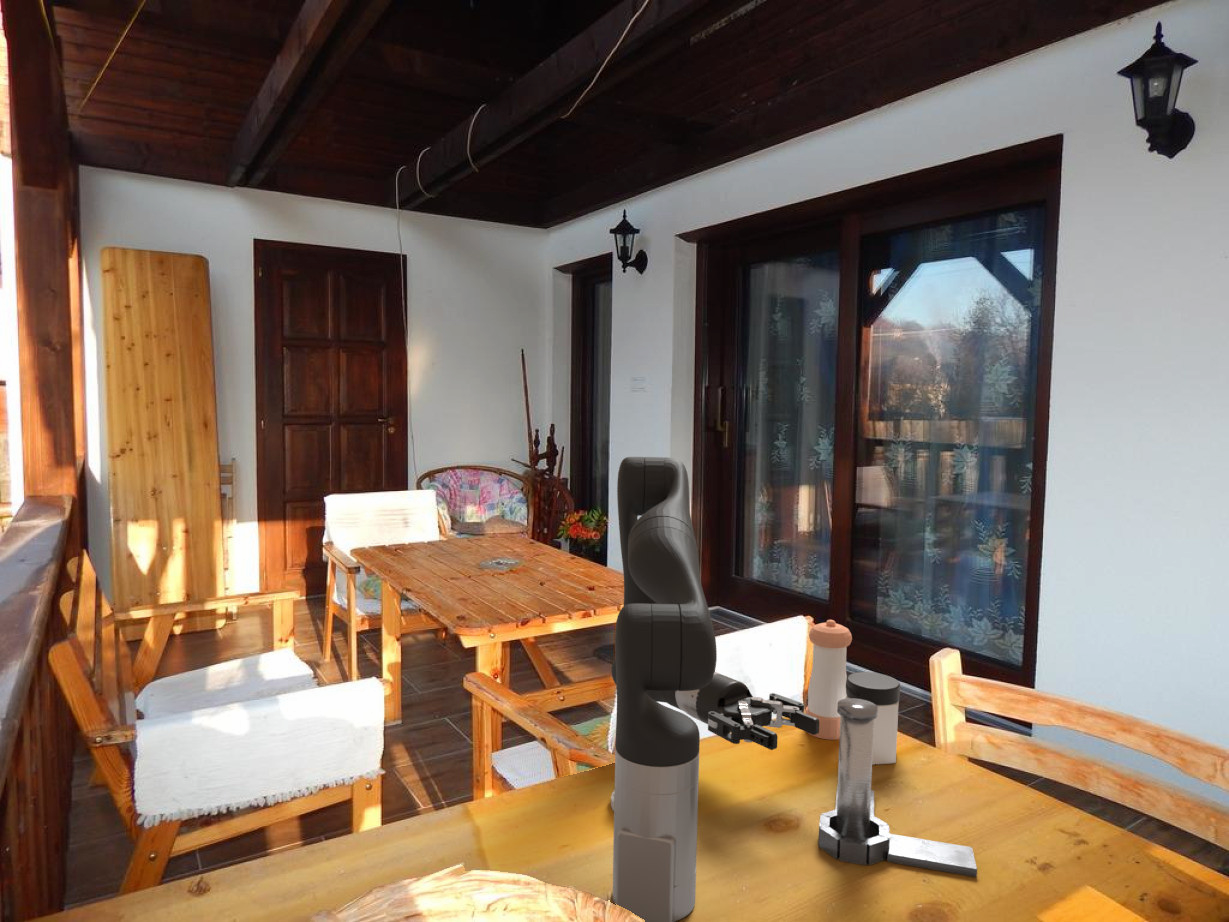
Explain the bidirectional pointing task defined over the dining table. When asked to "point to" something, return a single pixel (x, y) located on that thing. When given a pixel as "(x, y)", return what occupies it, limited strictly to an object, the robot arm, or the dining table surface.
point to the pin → (855, 767)
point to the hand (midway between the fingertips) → (797, 734)
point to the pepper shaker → (828, 676)
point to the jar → (879, 710)
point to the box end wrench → (893, 847)
